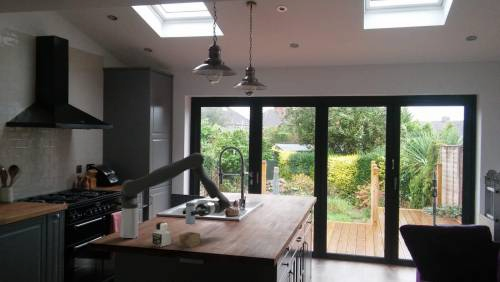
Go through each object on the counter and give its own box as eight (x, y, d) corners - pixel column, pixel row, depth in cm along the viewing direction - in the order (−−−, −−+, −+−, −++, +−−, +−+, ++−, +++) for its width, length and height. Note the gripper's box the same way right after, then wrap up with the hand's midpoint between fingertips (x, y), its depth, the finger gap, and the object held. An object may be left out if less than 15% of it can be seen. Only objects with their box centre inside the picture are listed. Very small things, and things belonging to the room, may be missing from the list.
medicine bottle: (152, 245, 228) (152, 222, 228) (161, 242, 234) (162, 221, 234) (161, 247, 224) (161, 224, 224) (171, 244, 230) (171, 222, 230)
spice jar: (183, 223, 229) (183, 203, 229) (189, 222, 234) (189, 202, 234) (191, 224, 226) (191, 204, 226) (196, 223, 231) (197, 202, 231)
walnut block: (179, 245, 228) (179, 234, 228) (188, 242, 235) (188, 231, 235) (191, 247, 224) (191, 236, 224) (200, 244, 231) (200, 233, 231)
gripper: (195, 201, 246) (176, 205, 231) (216, 203, 239) (198, 207, 224) (195, 214, 246) (176, 218, 231) (215, 216, 239) (197, 221, 224)
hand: (187, 213), depth 228 cm, fingers closed on spice jar, 5 cm apart
